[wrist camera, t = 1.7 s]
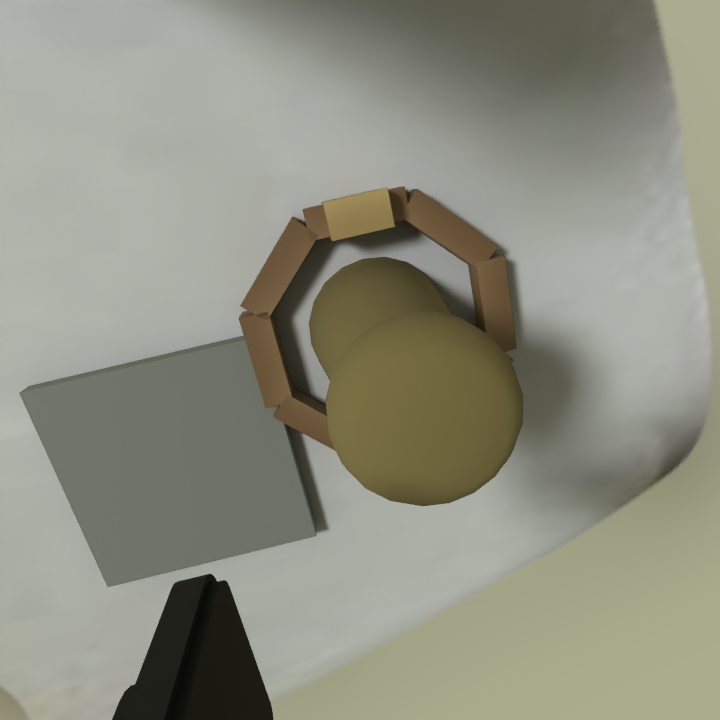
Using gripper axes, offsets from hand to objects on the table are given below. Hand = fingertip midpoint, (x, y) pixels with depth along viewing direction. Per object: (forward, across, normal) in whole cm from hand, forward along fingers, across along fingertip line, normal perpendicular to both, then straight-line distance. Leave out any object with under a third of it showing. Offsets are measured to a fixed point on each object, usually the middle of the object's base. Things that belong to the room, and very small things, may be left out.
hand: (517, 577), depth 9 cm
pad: (+15, +10, +3) cm, 19 cm away
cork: (+15, 0, -1) cm, 15 cm away
